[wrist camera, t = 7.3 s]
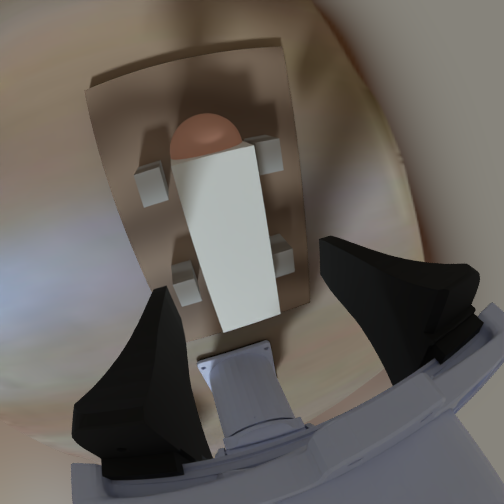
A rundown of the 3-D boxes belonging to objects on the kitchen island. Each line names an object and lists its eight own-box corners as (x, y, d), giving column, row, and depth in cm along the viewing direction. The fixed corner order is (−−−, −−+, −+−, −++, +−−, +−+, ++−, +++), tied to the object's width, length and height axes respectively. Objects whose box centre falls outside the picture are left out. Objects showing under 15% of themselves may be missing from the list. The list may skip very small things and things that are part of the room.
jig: (305, 296, 26) (321, 318, 24) (177, 337, 24) (181, 365, 21) (276, 49, 15) (298, 38, 12) (88, 91, 13) (71, 87, 10)
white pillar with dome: (258, 274, 22) (280, 313, 18) (210, 289, 22) (223, 332, 17) (225, 107, 15) (246, 105, 11) (163, 122, 15) (160, 125, 11)
